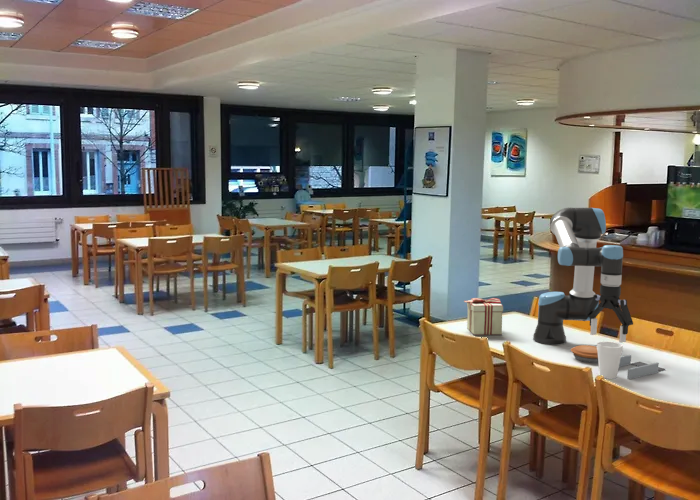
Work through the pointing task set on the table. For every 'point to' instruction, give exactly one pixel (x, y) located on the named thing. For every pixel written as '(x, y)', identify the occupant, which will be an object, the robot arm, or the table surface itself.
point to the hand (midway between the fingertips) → (607, 338)
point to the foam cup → (609, 358)
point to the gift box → (484, 316)
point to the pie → (586, 353)
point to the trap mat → (645, 364)
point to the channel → (638, 368)
